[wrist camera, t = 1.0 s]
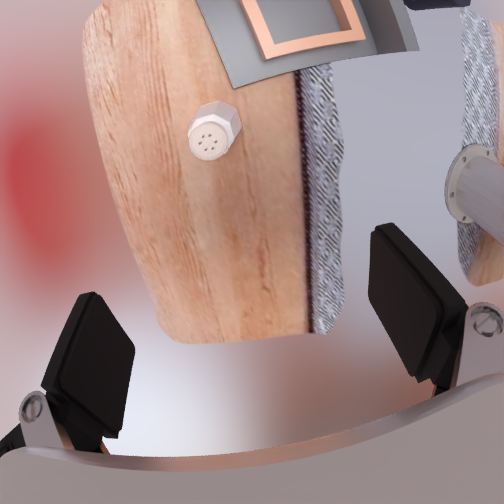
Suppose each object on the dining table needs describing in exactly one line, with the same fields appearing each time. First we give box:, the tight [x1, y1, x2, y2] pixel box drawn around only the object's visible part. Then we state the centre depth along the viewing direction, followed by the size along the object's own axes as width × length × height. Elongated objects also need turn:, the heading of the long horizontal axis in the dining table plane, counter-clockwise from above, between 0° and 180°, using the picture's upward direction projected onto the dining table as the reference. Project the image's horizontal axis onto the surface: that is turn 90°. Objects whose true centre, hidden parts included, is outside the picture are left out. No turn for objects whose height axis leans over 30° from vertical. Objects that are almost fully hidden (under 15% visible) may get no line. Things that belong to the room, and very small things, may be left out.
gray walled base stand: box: [196, 0, 419, 89], centre depth 18 cm, size 18×14×7 cm
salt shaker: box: [187, 100, 242, 161], centre depth 23 cm, size 5×5×11 cm
